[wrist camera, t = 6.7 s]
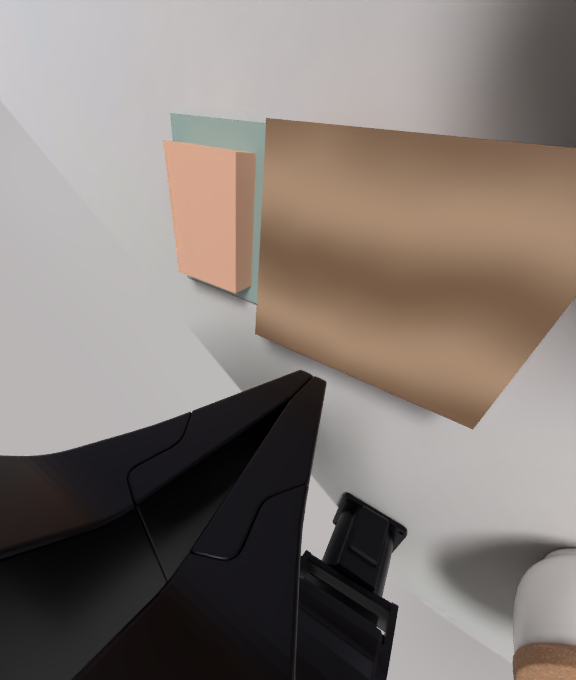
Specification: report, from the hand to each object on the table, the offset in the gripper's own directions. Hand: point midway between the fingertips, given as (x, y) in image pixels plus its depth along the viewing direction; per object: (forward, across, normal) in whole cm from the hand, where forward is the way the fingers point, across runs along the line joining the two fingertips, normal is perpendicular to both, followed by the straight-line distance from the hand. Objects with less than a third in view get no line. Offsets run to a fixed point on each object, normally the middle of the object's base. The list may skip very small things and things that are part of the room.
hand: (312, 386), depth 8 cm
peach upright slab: (+10, +14, -1) cm, 17 cm away
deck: (+12, 0, -1) cm, 12 cm away
